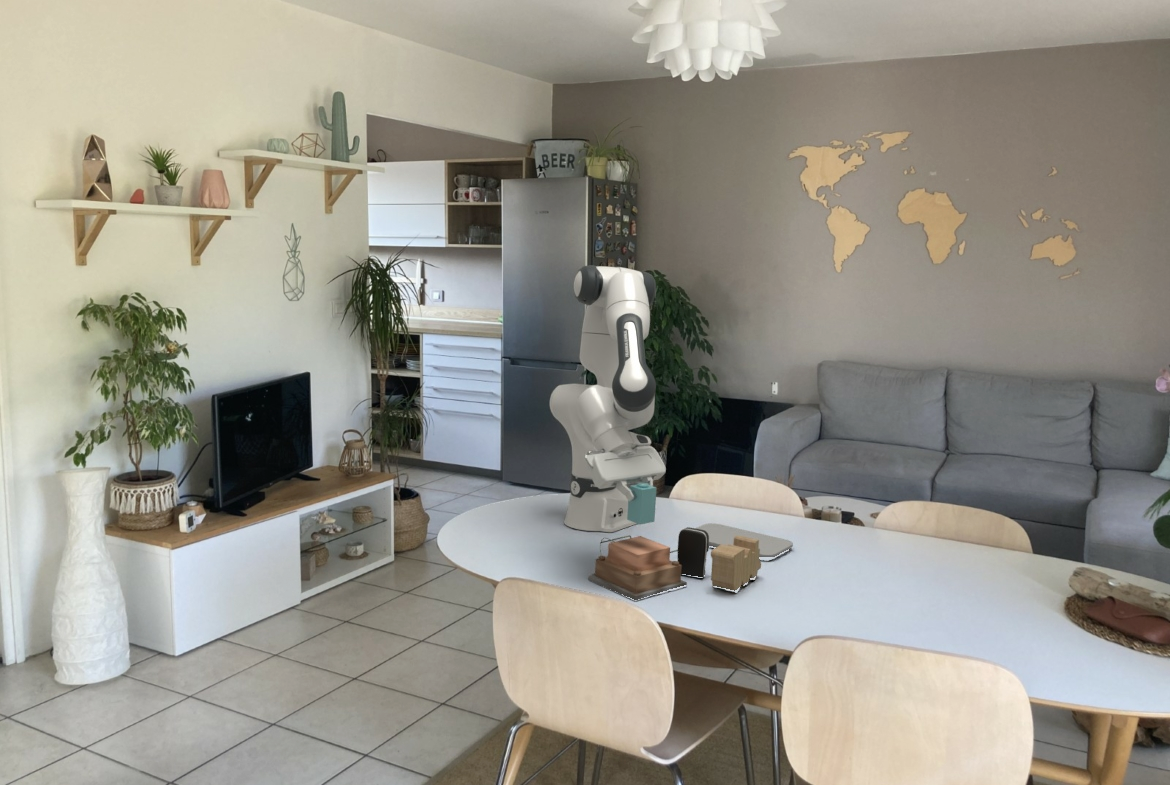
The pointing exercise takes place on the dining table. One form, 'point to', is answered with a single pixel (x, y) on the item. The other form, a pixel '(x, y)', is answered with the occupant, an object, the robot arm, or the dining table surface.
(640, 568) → the wooden stepped box
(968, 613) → the dining table surface
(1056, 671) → the dining table surface
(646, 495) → the teal brick
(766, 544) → the tablet
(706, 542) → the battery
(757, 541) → the toy train
